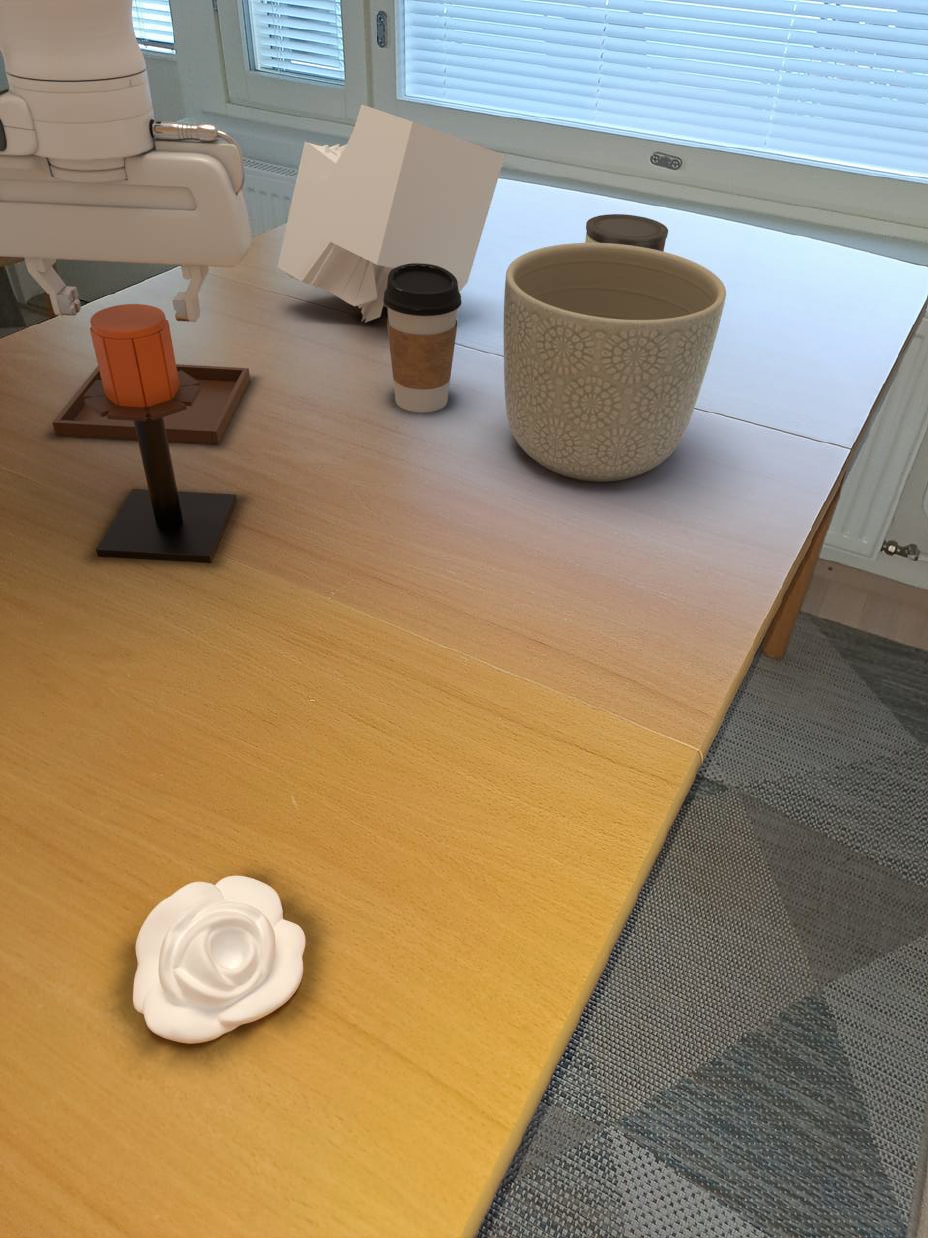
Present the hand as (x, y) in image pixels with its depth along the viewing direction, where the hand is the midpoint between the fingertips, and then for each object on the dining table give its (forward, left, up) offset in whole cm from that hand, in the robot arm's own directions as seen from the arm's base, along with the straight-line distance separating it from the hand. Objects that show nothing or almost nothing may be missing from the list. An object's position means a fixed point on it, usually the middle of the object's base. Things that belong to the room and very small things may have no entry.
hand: (128, 315), depth 71 cm
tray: (-8, +23, -21) cm, 32 cm away
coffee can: (+45, +52, -21) cm, 72 cm away
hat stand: (0, 0, -21) cm, 21 cm away
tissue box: (+14, +55, -21) cm, 61 cm away
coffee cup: (+21, +28, -21) cm, 41 cm away
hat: (0, 0, -7) cm, 7 cm away
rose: (+15, -42, -21) cm, 49 cm away
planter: (+40, +19, -21) cm, 49 cm away
